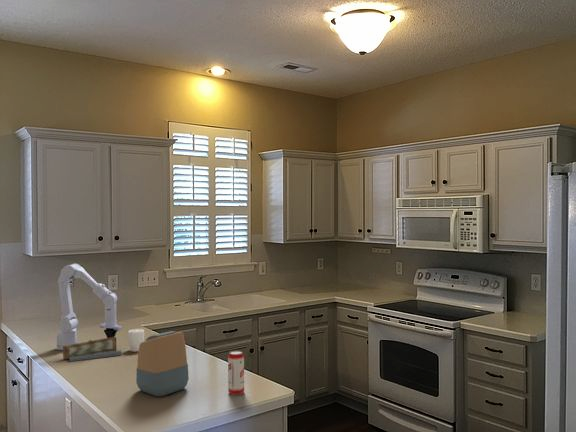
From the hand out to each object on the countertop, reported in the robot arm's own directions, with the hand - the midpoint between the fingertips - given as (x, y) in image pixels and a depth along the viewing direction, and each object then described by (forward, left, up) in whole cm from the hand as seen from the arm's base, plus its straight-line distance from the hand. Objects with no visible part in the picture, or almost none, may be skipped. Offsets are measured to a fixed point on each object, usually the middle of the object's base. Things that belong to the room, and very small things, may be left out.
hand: (110, 342), depth 274 cm
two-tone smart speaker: (+58, -50, -3) cm, 76 cm away
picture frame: (-3, -13, -3) cm, 13 cm away
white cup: (+15, 0, -3) cm, 15 cm away
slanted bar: (+3, -17, -3) cm, 17 cm away
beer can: (+88, -46, -3) cm, 99 cm away
